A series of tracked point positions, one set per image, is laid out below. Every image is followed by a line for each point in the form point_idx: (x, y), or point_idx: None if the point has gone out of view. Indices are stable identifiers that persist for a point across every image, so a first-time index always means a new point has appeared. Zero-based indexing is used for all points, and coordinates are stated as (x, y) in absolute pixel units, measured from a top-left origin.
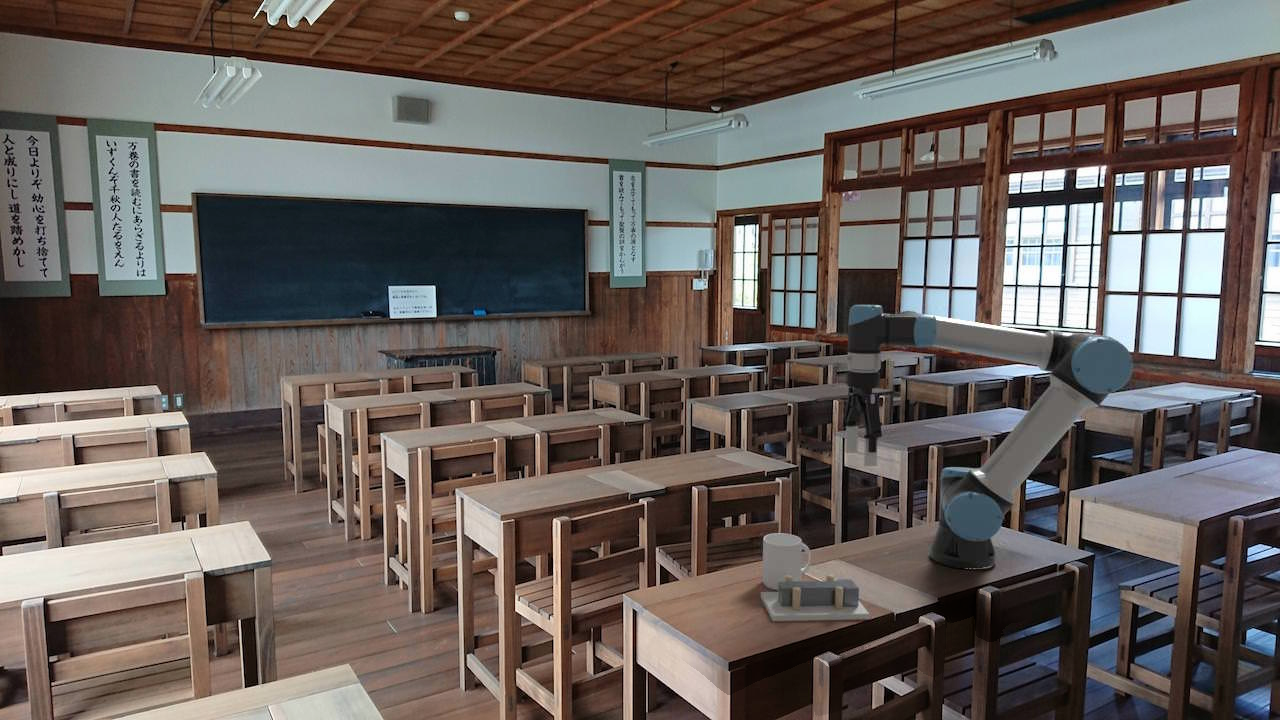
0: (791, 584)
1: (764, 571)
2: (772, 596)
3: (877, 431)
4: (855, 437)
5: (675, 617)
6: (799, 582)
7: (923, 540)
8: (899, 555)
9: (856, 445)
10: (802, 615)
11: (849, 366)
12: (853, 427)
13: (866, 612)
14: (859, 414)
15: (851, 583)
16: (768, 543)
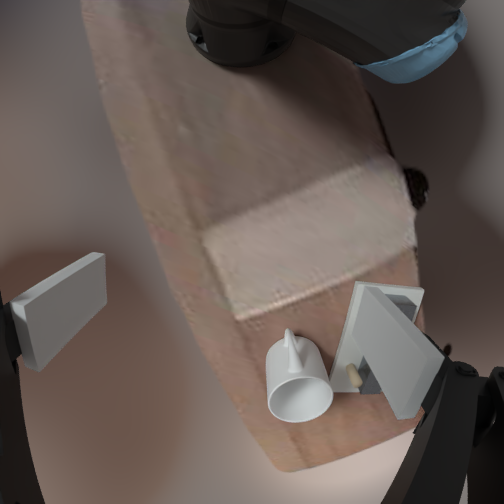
0: (374, 382)
1: (295, 390)
2: (343, 383)
3: (477, 391)
4: (65, 293)
5: (341, 452)
6: (372, 373)
7: (140, 44)
8: (201, 112)
9: (88, 270)
10: None
11: None
12: (32, 335)
13: (421, 292)
14: (2, 393)
15: (400, 309)
16: (310, 419)
